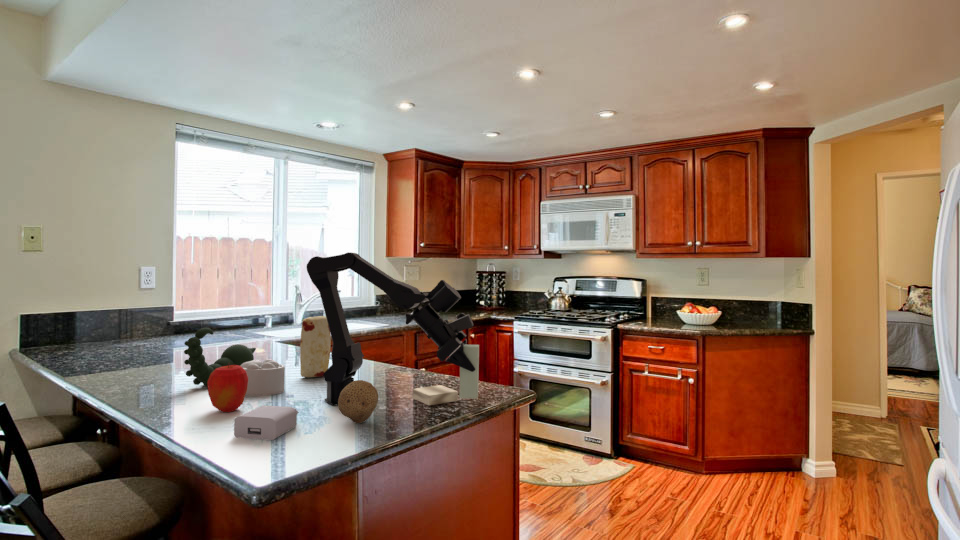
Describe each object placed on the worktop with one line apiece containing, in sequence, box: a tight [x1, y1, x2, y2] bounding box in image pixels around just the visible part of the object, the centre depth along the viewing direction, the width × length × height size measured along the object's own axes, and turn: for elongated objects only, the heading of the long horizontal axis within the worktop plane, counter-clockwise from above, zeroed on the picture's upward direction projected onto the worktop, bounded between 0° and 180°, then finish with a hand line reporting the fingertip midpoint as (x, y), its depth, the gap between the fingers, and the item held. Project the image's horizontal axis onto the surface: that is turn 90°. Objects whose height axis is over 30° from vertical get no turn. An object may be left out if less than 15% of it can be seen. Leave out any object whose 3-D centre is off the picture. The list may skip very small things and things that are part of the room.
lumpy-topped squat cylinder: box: [240, 358, 286, 396], centre depth 147 cm, size 10×13×9 cm
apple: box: [207, 363, 248, 413], centre depth 126 cm, size 9×9×12 cm
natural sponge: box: [337, 379, 379, 425], centre depth 117 cm, size 9×9×10 cm
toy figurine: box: [183, 327, 257, 387], centre depth 156 cm, size 9×19×25 cm
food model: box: [299, 315, 332, 378], centre depth 167 cm, size 10×7×20 cm
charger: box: [233, 405, 299, 441], centre depth 113 cm, size 5×9×15 cm
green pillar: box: [458, 343, 480, 400], centre depth 131 cm, size 4×4×13 cm
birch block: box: [412, 384, 459, 406], centre depth 140 cm, size 9×9×3 cm
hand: (474, 368), depth 131 cm, fingers closed on green pillar, 4 cm apart
